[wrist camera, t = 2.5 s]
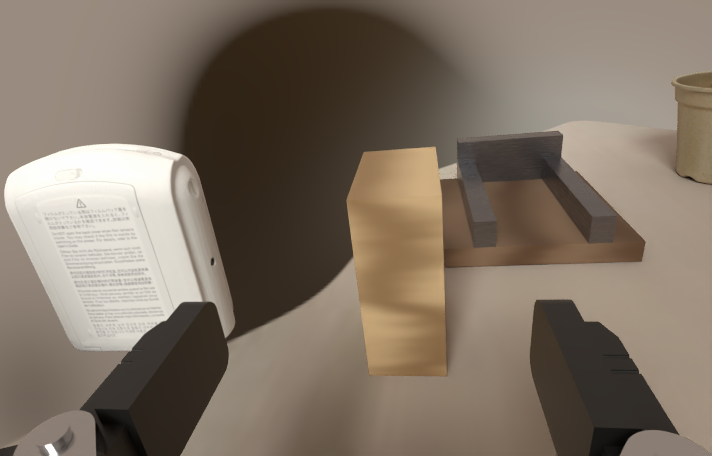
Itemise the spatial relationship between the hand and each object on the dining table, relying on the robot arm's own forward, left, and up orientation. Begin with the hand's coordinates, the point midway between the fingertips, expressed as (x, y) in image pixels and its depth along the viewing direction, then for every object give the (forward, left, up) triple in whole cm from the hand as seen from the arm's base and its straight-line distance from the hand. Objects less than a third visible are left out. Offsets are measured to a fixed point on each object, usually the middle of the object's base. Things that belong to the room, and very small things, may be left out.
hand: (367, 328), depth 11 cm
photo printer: (+16, -12, -10) cm, 22 cm away
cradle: (-9, -26, -10) cm, 29 cm away
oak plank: (0, -12, -10) cm, 15 cm away
